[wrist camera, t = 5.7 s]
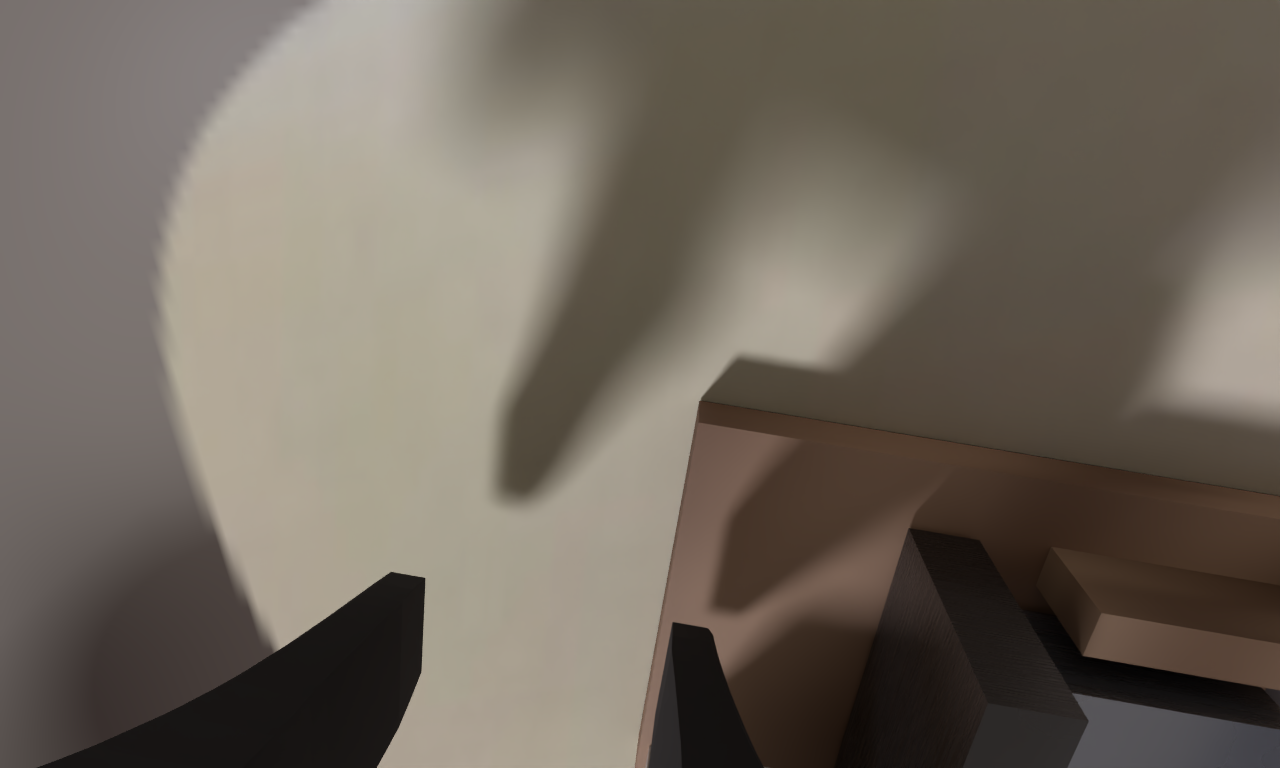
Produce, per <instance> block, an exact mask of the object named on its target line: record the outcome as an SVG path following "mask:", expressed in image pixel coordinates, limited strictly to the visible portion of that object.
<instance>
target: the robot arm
mask: <svg viewBox="0 0 1280 768" xmlns="http://www.w3.org/2000/svg"><path fill="white" fill-rule="evenodd" d="M424 598H425V578H422V577H417V576H411V575H406V574H400V573H394V572H390V573H389V574H387V575H386V576H384V577H383V578H382V579H380V580H379V581H377V582H376V583H374V584H373V585H372V586H370V587H369V588H367V589H366V590H365V591H363V592H362V593H360V594H359V595H358V596H356V597H355V598H354V599H352V600H351V601H349V602H348V603H347V604H345V605H344V606H342V607H341V608H340V609H338V610H337V611H336V612H334V613H333V614H331V615H330V616H329V617H327V618H326V619H324V620H323V621H321V622H320V623H318V624H317V625H315V626H314V627H313V628H311V629H310V630H308V631H307V632H305V633H304V634H302V635H301V636H299V637H298V638H297V639H295V640H294V641H292V642H291V643H289V644H288V645H286V646H285V647H283V648H281V649H280V650H278V651H277V652H275V653H273V654H272V655H270V656H269V657H267V658H265V659H264V660H262V661H261V662H259V663H257V664H256V665H254V666H253V667H251V668H249V669H248V670H246V671H245V672H243V673H241V674H240V675H238V676H236V677H234V678H233V679H231V680H229V681H227V682H226V683H224V684H222V685H220V686H218V687H217V688H215V689H213V690H211V691H209V692H207V693H205V694H203V695H201V696H200V697H198V698H196V699H194V700H192V701H190V702H188V703H186V704H184V705H183V706H180V707H178V708H176V709H174V710H172V711H170V712H168V713H166V714H164V715H162V716H159V717H157V718H155V719H153V720H151V721H148V722H146V723H144V724H142V725H139V726H137V727H135V728H133V729H131V730H128V731H126V732H124V733H122V734H119V735H117V736H115V737H113V738H111V739H108V740H106V741H104V742H102V743H99V744H97V745H95V746H92V747H90V748H87V749H84V750H82V751H79V752H77V753H74V754H72V755H69V756H67V757H64V758H62V759H59V760H56V761H54V762H51V763H48V764H46V765H43V766H40V767H38V768H377V766H378V764H379V763H380V761H381V759H382V757H383V755H384V753H385V752H386V750H387V748H388V746H389V744H390V743H391V741H392V739H393V737H394V735H395V733H396V731H397V730H398V728H399V725H400V723H401V721H402V718H403V716H404V714H405V711H406V709H407V706H408V704H409V702H410V699H411V697H412V694H413V692H414V689H415V687H416V684H417V682H418V679H419V677H420V674H421V668H422V645H423V621H424ZM649 768H764V767H763V765H762V763H761V761H760V759H759V757H758V755H757V753H756V751H755V749H754V746H753V744H752V742H751V740H750V738H749V736H748V733H747V731H746V729H745V726H744V724H743V721H742V719H741V717H740V714H739V712H738V710H737V707H736V705H735V702H734V700H733V697H732V695H731V692H730V689H729V687H728V684H727V681H726V678H725V675H724V672H723V669H722V666H721V663H720V660H719V656H718V653H717V649H716V645H715V641H714V636H713V634H712V633H711V631H710V630H709V629H708V628H705V627H699V626H693V625H688V624H682V623H676V622H672V627H671V633H670V638H669V643H668V648H667V654H666V659H665V664H664V670H663V675H662V680H661V686H660V691H659V696H658V701H657V707H656V712H655V719H654V727H653V735H652V743H651V752H650V760H649Z"/></svg>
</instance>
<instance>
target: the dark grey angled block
mask: <svg viewBox="0 0 1280 768" xmlns="http://www.w3.org/2000/svg"><path fill="white" fill-rule="evenodd" d="M834 768H1280V707H1279V706H1278V705H1277V704H1276V702H1275V701H1274V700H1273V699H1272V698H1271V697H1270V696H1269V695H1268V694H1267V693H1266V692H1265V691H1264V690H1263V689H1262V688H1261V687H1258V686H1252V685H1247V684H1241V683H1235V682H1229V681H1224V680H1218V679H1212V678H1207V677H1201V676H1195V675H1189V674H1184V673H1178V672H1172V671H1167V670H1161V669H1155V668H1149V667H1144V666H1138V665H1132V664H1127V663H1121V662H1115V661H1109V660H1104V659H1098V658H1092V657H1087V656H1083V655H1082V654H1081V652H1080V651H1079V649H1078V648H1077V646H1076V645H1075V643H1074V642H1073V640H1072V639H1071V637H1070V636H1069V634H1068V633H1067V631H1066V630H1065V628H1064V627H1063V625H1062V624H1061V622H1060V621H1059V619H1058V618H1057V616H1056V615H1052V614H1046V613H1041V612H1035V611H1029V610H1023V609H1021V608H1020V606H1019V605H1018V603H1017V601H1016V600H1015V598H1014V596H1013V595H1012V593H1011V591H1010V590H1009V588H1008V586H1007V585H1006V583H1005V581H1004V580H1003V578H1002V577H1001V575H1000V573H999V572H998V570H997V568H996V567H995V565H994V563H993V562H992V560H991V558H990V557H989V555H988V553H987V552H986V550H985V548H984V547H983V545H982V543H981V542H980V540H976V539H970V538H964V537H958V536H953V535H947V534H941V533H935V532H929V531H923V530H917V529H911V528H908V531H907V535H906V538H905V541H904V544H903V547H902V551H901V554H900V557H899V560H898V564H897V567H896V570H895V573H894V576H893V580H892V583H891V586H890V589H889V593H888V596H887V599H886V602H885V605H884V609H883V612H882V615H881V618H880V621H879V625H878V628H877V631H876V634H875V638H874V641H873V644H872V647H871V650H870V654H869V657H868V660H867V663H866V667H865V670H864V673H863V676H862V679H861V683H860V686H859V689H858V692H857V696H856V699H855V702H854V705H853V708H852V712H851V715H850V718H849V721H848V724H847V728H846V731H845V734H844V737H843V741H842V744H841V747H840V750H839V753H838V757H837V760H836V763H835V766H834Z"/></svg>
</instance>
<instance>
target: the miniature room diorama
mask: <svg viewBox="0 0 1280 768" xmlns="http://www.w3.org/2000/svg"><path fill="white" fill-rule="evenodd" d="M908 528H911V529H917V530H923V531H929V532H935V533H941V534H947V535H953V536H958V537H964V538H970V539H976V540H980V542H981V543H982V545H983V547H984V548H985V550H986V552H987V553H988V555H989V557H990V558H991V560H992V562H993V563H994V565H995V567H996V568H997V570H998V572H999V573H1000V575H1001V577H1002V578H1003V580H1004V581H1005V583H1006V585H1007V586H1008V588H1009V590H1010V591H1011V593H1012V595H1013V596H1014V598H1015V600H1016V601H1017V603H1018V605H1019V606H1020V608H1021V609H1023V610H1029V611H1035V612H1041V613H1046V614H1052V615H1056V616H1057V618H1058V619H1059V621H1060V622H1061V624H1062V625H1063V627H1064V628H1065V630H1066V631H1067V633H1068V634H1069V636H1070V637H1071V639H1072V640H1073V642H1074V643H1075V645H1076V646H1077V648H1078V649H1079V651H1080V652H1081V654H1082V655H1083V656H1087V657H1092V658H1098V659H1104V660H1109V661H1115V662H1121V663H1127V664H1132V665H1138V666H1144V667H1149V668H1155V669H1161V670H1167V671H1172V672H1178V673H1184V674H1189V675H1195V676H1201V677H1207V678H1212V679H1218V680H1224V681H1229V682H1235V683H1241V684H1247V685H1252V686H1258V687H1261V688H1262V689H1263V690H1264V691H1265V692H1266V693H1267V694H1268V695H1269V696H1270V697H1271V698H1272V699H1273V700H1274V701H1275V702H1276V704H1277V705H1278V706H1279V707H1280V496H1274V495H1268V494H1262V493H1256V492H1250V491H1244V490H1238V489H1232V488H1226V487H1220V486H1214V485H1207V484H1201V483H1195V482H1189V481H1183V480H1177V479H1171V478H1165V477H1159V476H1153V475H1147V474H1141V473H1135V472H1129V471H1123V470H1117V469H1111V468H1104V467H1098V466H1092V465H1086V464H1080V463H1074V462H1068V461H1062V460H1056V459H1050V458H1044V457H1038V456H1032V455H1026V454H1020V453H1014V452H1008V451H1001V450H995V449H989V448H983V447H977V446H971V445H965V444H959V443H953V442H947V441H941V440H935V439H929V438H923V437H917V436H911V435H905V434H899V433H892V432H886V431H880V430H874V429H868V428H862V427H856V426H850V425H844V424H838V423H832V422H826V421H820V420H814V419H808V418H802V417H796V416H789V415H783V414H777V413H771V412H765V411H759V410H753V409H747V408H741V407H735V406H729V405H723V404H717V403H711V402H705V401H699V407H698V412H697V418H696V423H695V429H694V434H693V440H692V445H691V451H690V456H689V462H688V467H687V473H686V478H685V484H684V489H683V495H682V500H681V506H680V511H679V517H678V522H677V528H676V533H675V539H674V544H673V550H672V555H671V561H670V566H669V572H668V578H667V583H666V589H665V594H664V600H663V605H662V611H661V616H660V622H659V627H658V633H657V638H656V644H655V649H654V655H653V660H652V666H651V671H650V677H649V682H648V688H647V693H646V699H645V704H644V710H643V715H642V721H641V726H640V732H639V739H638V747H637V755H636V763H635V768H649V760H650V752H651V743H652V735H653V727H654V719H655V712H656V707H657V701H658V696H659V691H660V686H661V680H662V675H663V670H664V664H665V659H666V654H667V648H668V643H669V638H670V633H671V627H672V622H676V623H682V624H688V625H693V626H699V627H705V628H708V629H709V630H710V631H711V633H712V634H713V636H714V641H715V645H716V649H717V653H718V656H719V660H720V663H721V666H722V669H723V672H724V675H725V678H726V681H727V684H728V687H729V689H730V692H731V695H732V697H733V700H734V702H735V705H736V707H737V710H738V712H739V714H740V717H741V719H742V721H743V724H744V726H745V729H746V731H747V733H748V736H749V738H750V740H751V742H752V744H753V746H754V749H755V751H756V753H757V755H758V757H759V759H760V761H761V763H762V765H763V767H764V768H834V766H835V763H836V760H837V757H838V753H839V750H840V747H841V744H842V741H843V737H844V734H845V731H846V728H847V724H848V721H849V718H850V715H851V712H852V708H853V705H854V702H855V699H856V696H857V692H858V689H859V686H860V683H861V679H862V676H863V673H864V670H865V667H866V663H867V660H868V657H869V654H870V650H871V647H872V644H873V641H874V638H875V634H876V631H877V628H878V625H879V621H880V618H881V615H882V612H883V609H884V605H885V602H886V599H887V596H888V593H889V589H890V586H891V583H892V580H893V576H894V573H895V570H896V567H897V564H898V560H899V557H900V554H901V551H902V547H903V544H904V541H905V538H906V535H907V531H908Z"/></svg>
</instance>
